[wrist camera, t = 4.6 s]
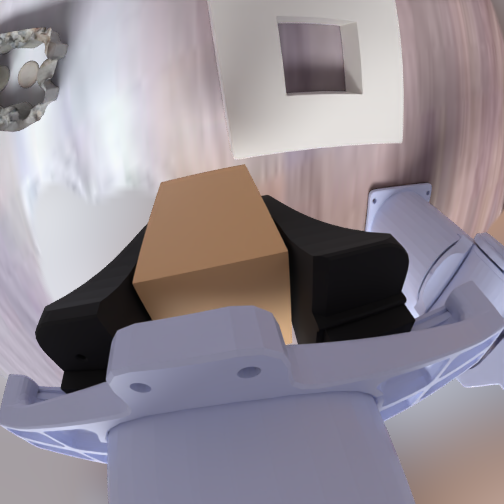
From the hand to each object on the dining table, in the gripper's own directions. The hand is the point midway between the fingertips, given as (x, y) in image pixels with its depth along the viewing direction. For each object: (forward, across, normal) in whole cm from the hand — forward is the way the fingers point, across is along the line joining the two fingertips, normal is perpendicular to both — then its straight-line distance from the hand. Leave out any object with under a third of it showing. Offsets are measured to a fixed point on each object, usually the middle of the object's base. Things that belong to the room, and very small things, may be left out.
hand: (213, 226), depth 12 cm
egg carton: (+9, +14, -12) cm, 21 cm away
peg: (+2, 0, 0) cm, 2 cm away
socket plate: (+9, -8, -7) cm, 14 cm away
